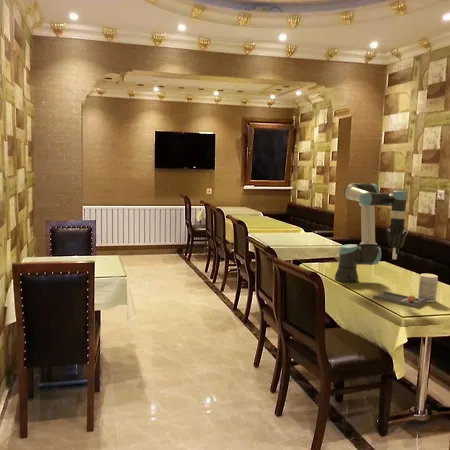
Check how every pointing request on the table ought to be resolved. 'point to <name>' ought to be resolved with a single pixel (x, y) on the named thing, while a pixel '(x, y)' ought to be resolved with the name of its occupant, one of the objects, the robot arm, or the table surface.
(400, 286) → the table surface
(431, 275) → the supplement tub
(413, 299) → the ball
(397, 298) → the grey tray
